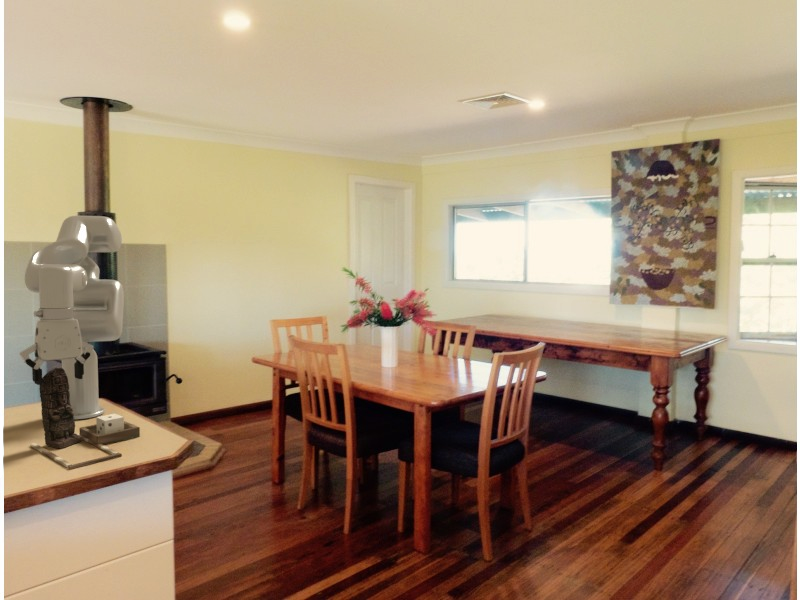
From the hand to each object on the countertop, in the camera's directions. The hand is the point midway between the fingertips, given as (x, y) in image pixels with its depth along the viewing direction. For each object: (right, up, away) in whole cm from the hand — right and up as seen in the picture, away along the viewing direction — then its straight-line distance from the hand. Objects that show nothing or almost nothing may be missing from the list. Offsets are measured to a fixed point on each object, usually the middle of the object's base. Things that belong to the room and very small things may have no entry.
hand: (59, 381), depth 159 cm
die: (+10, -16, +8) cm, 20 cm away
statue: (0, -17, +2) cm, 17 cm away
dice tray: (+9, -16, +8) cm, 20 cm away
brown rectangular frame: (+5, -17, -3) cm, 18 cm away
